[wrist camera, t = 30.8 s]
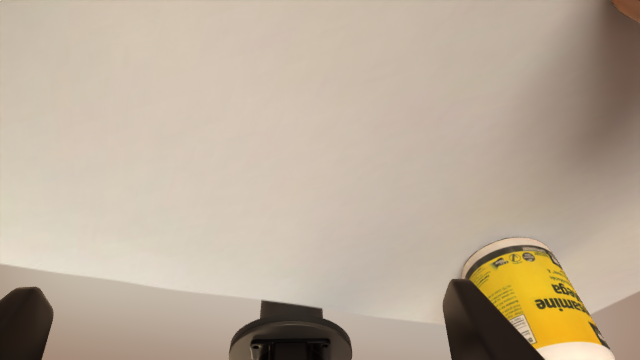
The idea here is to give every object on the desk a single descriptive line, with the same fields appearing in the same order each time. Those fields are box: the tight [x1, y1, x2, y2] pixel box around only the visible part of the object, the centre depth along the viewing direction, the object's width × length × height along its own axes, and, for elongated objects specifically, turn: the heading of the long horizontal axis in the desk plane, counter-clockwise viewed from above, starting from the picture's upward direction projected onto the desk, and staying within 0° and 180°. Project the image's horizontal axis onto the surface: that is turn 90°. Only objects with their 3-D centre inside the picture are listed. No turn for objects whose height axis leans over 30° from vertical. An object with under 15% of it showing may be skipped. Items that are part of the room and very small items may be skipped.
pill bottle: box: [462, 237, 615, 360], centre depth 26 cm, size 6×6×11 cm
